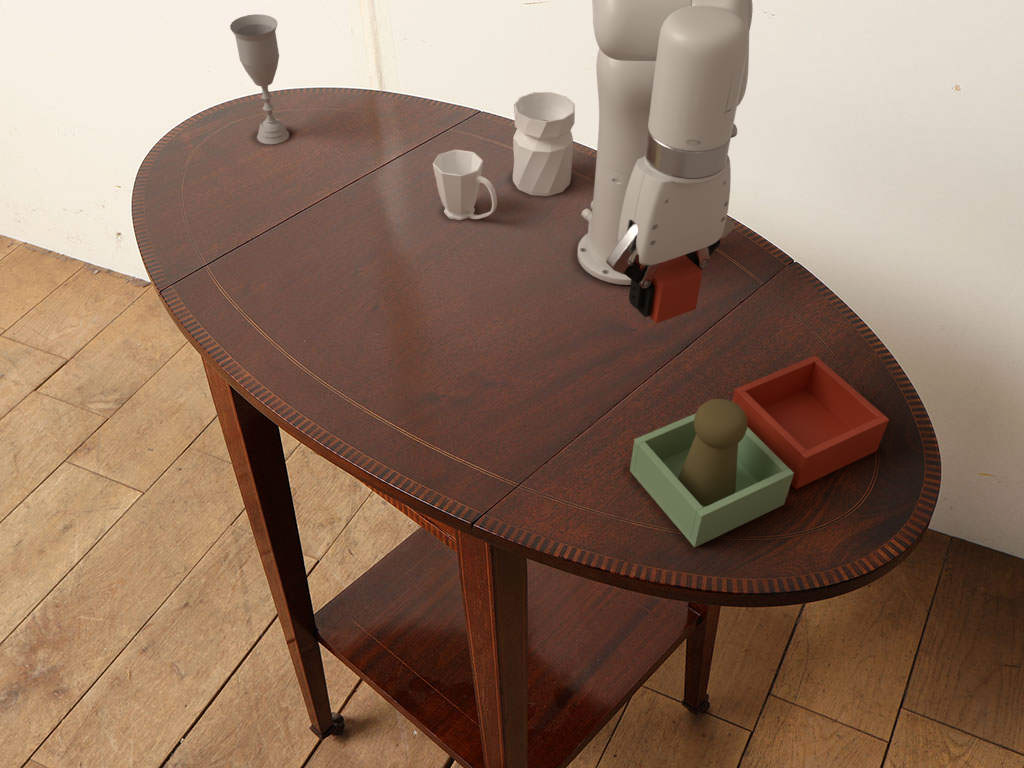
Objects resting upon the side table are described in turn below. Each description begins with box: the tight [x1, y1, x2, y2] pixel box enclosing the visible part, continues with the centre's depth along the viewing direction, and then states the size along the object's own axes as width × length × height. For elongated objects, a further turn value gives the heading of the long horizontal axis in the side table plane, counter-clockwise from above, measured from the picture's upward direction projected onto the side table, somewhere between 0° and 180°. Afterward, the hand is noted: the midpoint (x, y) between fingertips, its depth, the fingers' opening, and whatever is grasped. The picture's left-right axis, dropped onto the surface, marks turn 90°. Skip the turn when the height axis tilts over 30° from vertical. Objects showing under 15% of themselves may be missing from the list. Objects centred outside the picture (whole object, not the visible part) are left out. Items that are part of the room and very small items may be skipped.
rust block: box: [640, 255, 704, 324], centre depth 102 cm, size 5×5×5 cm
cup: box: [432, 149, 498, 221], centre depth 138 cm, size 7×10×8 cm
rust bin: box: [731, 355, 890, 490], centre depth 108 cm, size 12×12×5 cm
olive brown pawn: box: [678, 398, 747, 506], centre depth 100 cm, size 6×6×11 cm
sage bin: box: [629, 413, 794, 548], centre depth 103 cm, size 12×12×5 cm
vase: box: [512, 91, 576, 197], centre depth 143 cm, size 9×9×12 cm
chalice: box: [229, 13, 290, 145], centre depth 149 cm, size 7×7×18 cm
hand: (663, 299), depth 103 cm, fingers closed on rust block, 5 cm apart
